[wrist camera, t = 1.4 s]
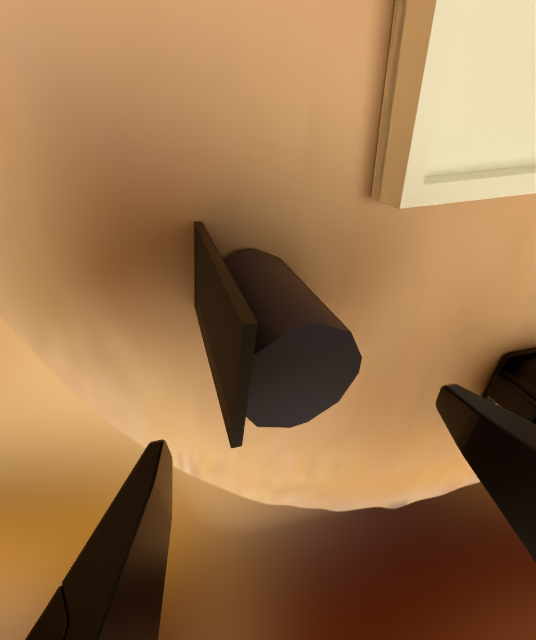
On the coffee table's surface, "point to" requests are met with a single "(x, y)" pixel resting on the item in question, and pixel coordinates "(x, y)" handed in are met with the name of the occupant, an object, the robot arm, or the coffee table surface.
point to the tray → (458, 103)
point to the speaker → (268, 340)
